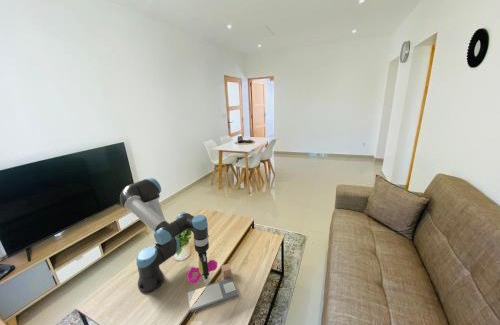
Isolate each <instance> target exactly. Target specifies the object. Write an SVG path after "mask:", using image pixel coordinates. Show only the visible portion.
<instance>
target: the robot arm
mask: <svg viewBox="0 0 500 325" xmlns="http://www.w3.org/2000/svg"><path fill="white" fill-rule="evenodd" d="M161 192H162V186H161V184H160V183H159V181H158V180H157V179H156V178H154V177H149V178H145V179H141V180H139V181H136V182H134V183H131V184H128V185H126V186H125V187H124V188H123V189H122V190H121V192H120V195H119V202H120V204H121V206H122V207H123V208H124V209H125V210H126V211H130V212H131V213H132V214H133V215H134V216H135V217H137V218H138V219H139V220H140V221H141V222H142V223H144V224H145V225H146V227H147V228H149V229H150V230H151V231H152V232H153V237H154V246H146V247H144V248H143V249H141V250H140V251H139V252H138V253H137V255H136V262H135V263H136V266H137V271H138V280H137V288H138V290H139V291H140V292H142V293H143V294H144V293H148V294H149V293H153V292H154V291H156V290H158V289H159V288H160V287H161V286H162V285H163V284H164V281H165V277H164V276H165V275H164V273H163V271H162V269H160V265H162V264H164V263H165V262H166V261H167V260H169V259H170V258H172V257H173V256H175V255H176V254H177V253H178V252H179V251H180V248H181V244H180V241H179V239H178V236H179V235H181V234H182V233H184V232H185V231H187V230H188V231H190V232H192V233H193V243H194V250H195V252H197V254H198V262H199V261H201V262H202V268H203V274H202V275H203V277H202V280H203V284H207V283H208V282H209V280H210V279H209V276H210V272H209V271H208V256H207V254H208V253H207V251H208V250H209V247H210V245H209V237H210V235H209V227H208V225H209V224H208V220H207V219H208V217H207V216H206V215H204V214H198V215H195V216H194V215H192V214H190V213H187V212H185V211H182V212H180V213H178V215H177V216H176V218H175V220H173V221H172V222H168V221H167V220H166V218H165V215H164V212H163V210H162V207H161V205H160V203H161V202H160V201H159V200H160V197H161V196H160V194H161Z"/></svg>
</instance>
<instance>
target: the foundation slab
mask: <svg viewBox="0 0 500 325" xmlns="http://www.w3.org/2000/svg"><path fill="white" fill-rule="evenodd" d="M207 285H208V286H207V287H206V289H205V291H204V292H203V294H202V295H201V296H200V297H199V299H198V300H197V302H196V303H195V304H194V305H193V306H192V308H191V309H190V313H196V312H197V311H200V310H203V309H205V308H208V307H211V306H215V305H217V304H221V303H223V302H225V301H228V300H229V301H230V300H232V299H234V298H238V297H240V292H239V291H238V288H237V285H236V283H235V280H234V277H232V276H231V278H228V279H222V280H218V281H216V282H213V283H210V284H207ZM195 289H196V288H194V289H191V290H188V291H187V298H188V299H187V300H188V302H189V301H191V299H192V296H193V295H192V294H194V292H195Z"/></svg>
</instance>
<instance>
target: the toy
mask: <svg viewBox="0 0 500 325" xmlns="http://www.w3.org/2000/svg"><path fill="white" fill-rule="evenodd" d="M207 263H208V271H209V273H210V272H213V271H216V270H217V268H218V262H217V261H216V260H214V259H210V260H209V261H207ZM194 273H196V276H195V277H193V275H194ZM202 274H203V268H202V262H201V261H199V260H198V267H193V266H191V268H190V269H189V271H188V272H187V274H186V277H187V282H188V283H189V284H197V283H199V280H200V279H201V277H202V278H203V275H202Z"/></svg>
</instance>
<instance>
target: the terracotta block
mask: <svg viewBox="0 0 500 325" xmlns="http://www.w3.org/2000/svg"><path fill="white" fill-rule="evenodd" d="M230 265H231V264H230V263H226V264H222V265H221V276H222V278H223V279H222V280H225V279H228V278H231V277H232V268H231V266H230Z"/></svg>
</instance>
